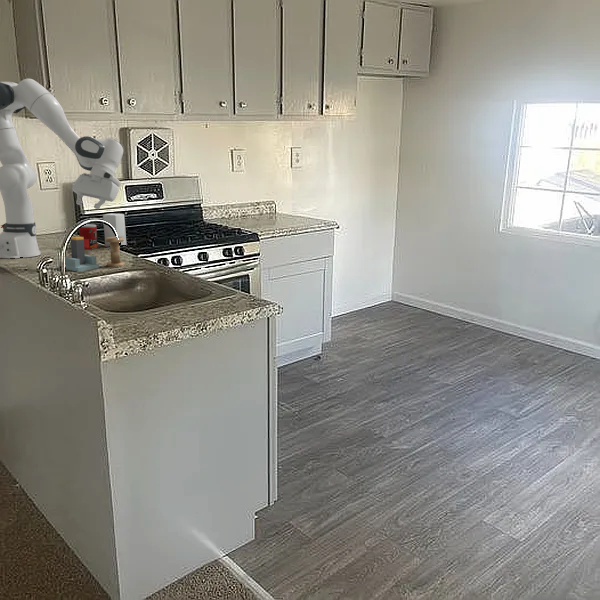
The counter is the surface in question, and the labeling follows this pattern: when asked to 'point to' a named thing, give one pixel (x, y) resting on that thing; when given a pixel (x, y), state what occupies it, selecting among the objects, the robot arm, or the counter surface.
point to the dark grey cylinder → (78, 249)
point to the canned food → (89, 235)
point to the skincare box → (115, 226)
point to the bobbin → (115, 251)
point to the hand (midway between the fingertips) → (87, 206)
